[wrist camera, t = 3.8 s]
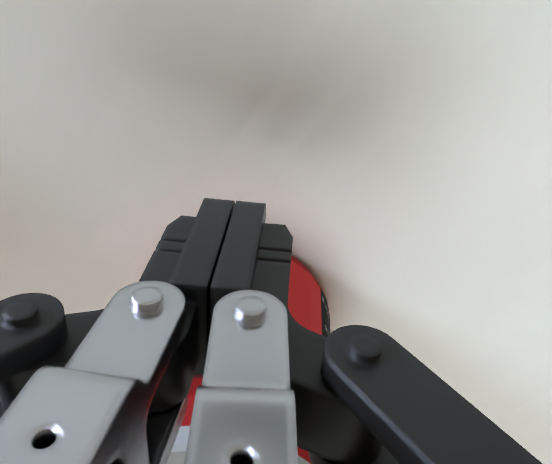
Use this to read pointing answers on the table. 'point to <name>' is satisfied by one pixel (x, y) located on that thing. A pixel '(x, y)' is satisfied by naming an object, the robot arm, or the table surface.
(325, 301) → the canned food
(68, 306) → the table surface
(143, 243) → the table surface
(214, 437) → the robot arm
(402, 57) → the table surface
